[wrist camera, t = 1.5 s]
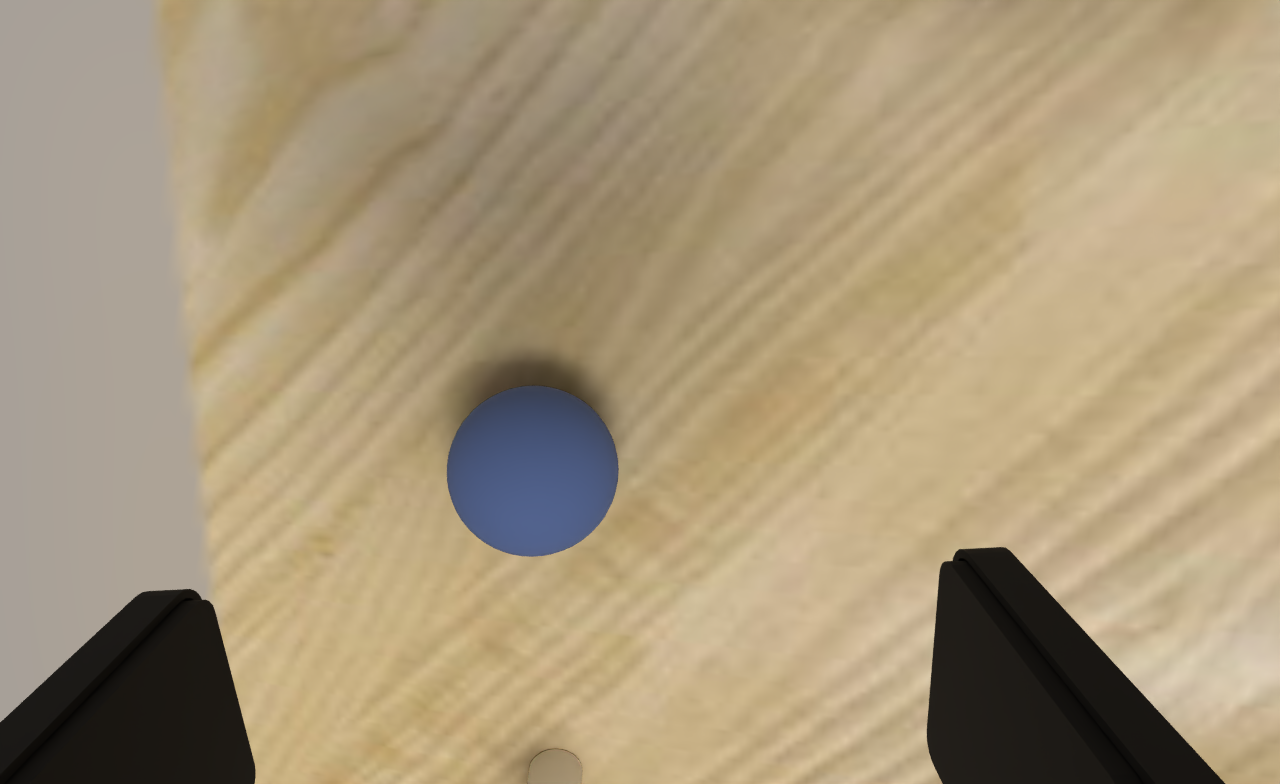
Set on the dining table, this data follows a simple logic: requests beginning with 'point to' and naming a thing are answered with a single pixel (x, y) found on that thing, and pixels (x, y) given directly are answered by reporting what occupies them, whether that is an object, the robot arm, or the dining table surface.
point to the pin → (555, 768)
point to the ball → (532, 471)
